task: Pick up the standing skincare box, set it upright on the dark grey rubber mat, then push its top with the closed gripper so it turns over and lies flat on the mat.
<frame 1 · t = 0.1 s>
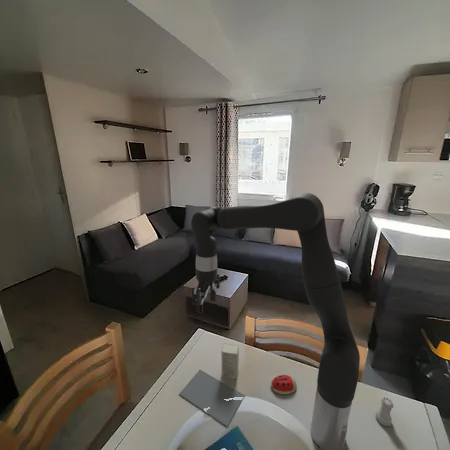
hand: (206, 306, 86), 29 cm above the table, fingers open, 8 cm apart
rook chess piece: (382, 420, 76), on the table
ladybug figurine: (283, 387, 87), on the table
skincare box: (229, 374, 92), on the table
mat: (211, 395, 83), on the table
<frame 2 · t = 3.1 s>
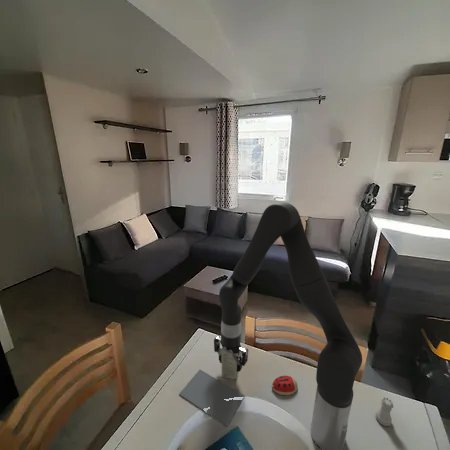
hand: (230, 365, 91), 4 cm above the table, fingers closed on skincare box, 7 cm apart
skincare box: (229, 374, 92), on the table, touching gripper
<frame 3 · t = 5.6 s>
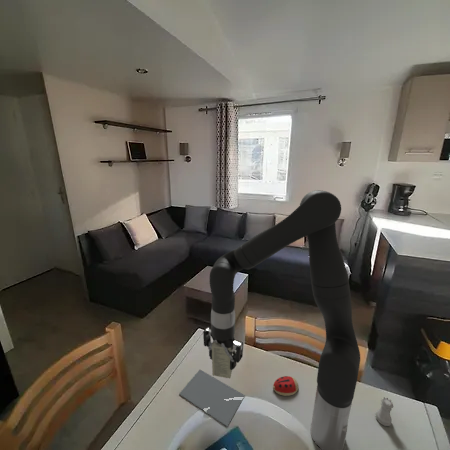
hand: (222, 362, 77), 17 cm above the table, fingers closed on skincare box, 7 cm apart
skincare box: (222, 372, 78), point 12 cm above the table, touching gripper
when the fingers open (5 cm above the table, at t = 8.2 s): skincare box stays where it is, resting on mat.
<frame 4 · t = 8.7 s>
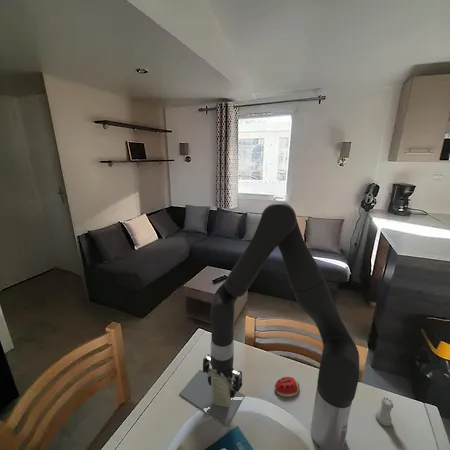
hand: (221, 389, 80), 5 cm above the table, fingers open, 8 cm apart
skincare box: (221, 400, 81), resting on mat
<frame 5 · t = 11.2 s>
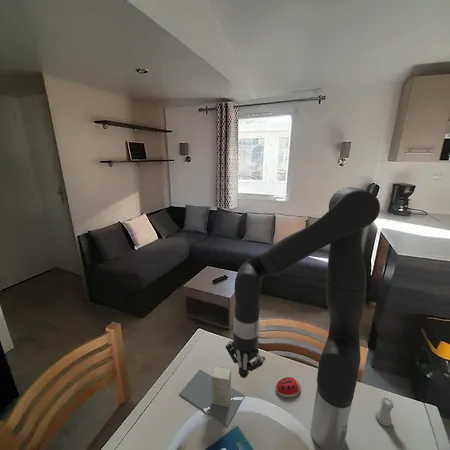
hand: (243, 375, 73), 16 cm above the table, fingers closed
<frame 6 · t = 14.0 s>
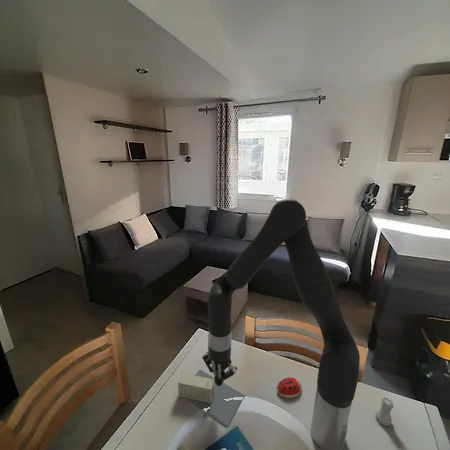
hand: (218, 383, 80), 7 cm above the table, fingers closed
skincare box: (213, 391, 81), point 3 cm above the table, touching mat
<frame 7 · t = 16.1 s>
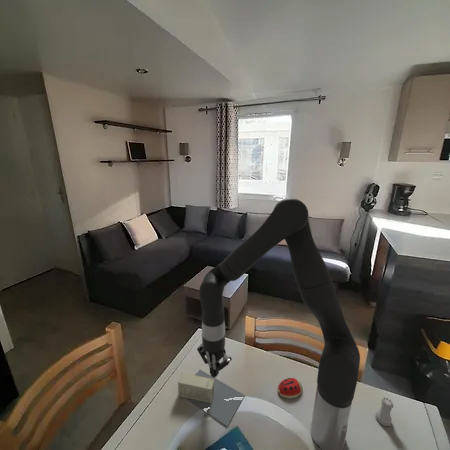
hand: (214, 375, 80), 10 cm above the table, fingers closed
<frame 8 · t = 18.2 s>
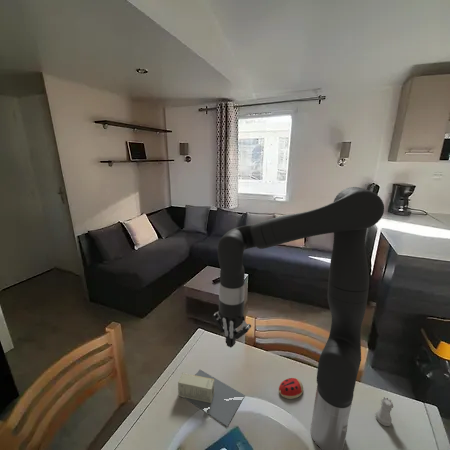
hand: (230, 345, 73), 25 cm above the table, fingers closed
at the end: skincare box tilted 89°; skincare box inside the target area (3.4 cm from its centre), point 3.3 cm above the table; the gripper is holding nothing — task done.
